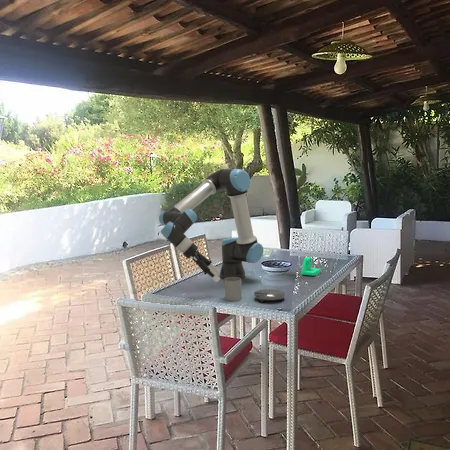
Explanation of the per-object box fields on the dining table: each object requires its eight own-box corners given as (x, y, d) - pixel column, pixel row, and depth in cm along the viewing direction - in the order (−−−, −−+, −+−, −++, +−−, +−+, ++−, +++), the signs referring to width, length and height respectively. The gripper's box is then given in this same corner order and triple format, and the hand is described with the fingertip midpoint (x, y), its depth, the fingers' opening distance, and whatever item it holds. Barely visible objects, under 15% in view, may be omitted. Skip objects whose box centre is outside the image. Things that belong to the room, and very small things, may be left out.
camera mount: (313, 277, 286) (313, 260, 284) (301, 275, 290) (301, 258, 288) (321, 273, 295) (321, 256, 294) (309, 271, 300) (309, 255, 298)
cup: (227, 301, 241) (227, 281, 240) (222, 297, 249) (222, 277, 247) (243, 299, 243) (243, 280, 242) (238, 295, 251) (238, 276, 250)
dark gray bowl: (251, 302, 238) (251, 296, 238) (257, 294, 253) (257, 288, 252) (282, 304, 234) (282, 298, 234) (286, 295, 249) (286, 289, 248)
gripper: (184, 248, 254) (213, 276, 256) (179, 258, 230) (212, 289, 232) (194, 238, 254) (223, 266, 256) (191, 247, 229) (223, 278, 231)
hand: (218, 277), depth 244 cm, fingers open, 13 cm apart
